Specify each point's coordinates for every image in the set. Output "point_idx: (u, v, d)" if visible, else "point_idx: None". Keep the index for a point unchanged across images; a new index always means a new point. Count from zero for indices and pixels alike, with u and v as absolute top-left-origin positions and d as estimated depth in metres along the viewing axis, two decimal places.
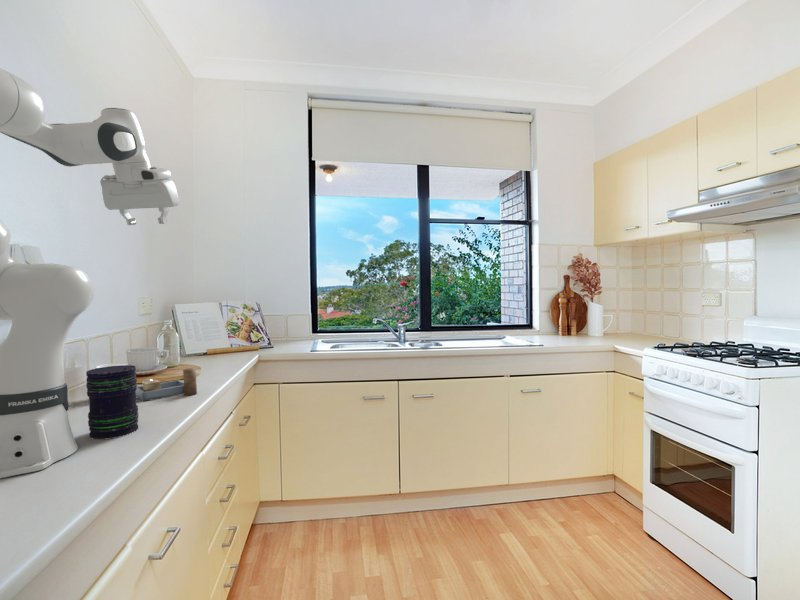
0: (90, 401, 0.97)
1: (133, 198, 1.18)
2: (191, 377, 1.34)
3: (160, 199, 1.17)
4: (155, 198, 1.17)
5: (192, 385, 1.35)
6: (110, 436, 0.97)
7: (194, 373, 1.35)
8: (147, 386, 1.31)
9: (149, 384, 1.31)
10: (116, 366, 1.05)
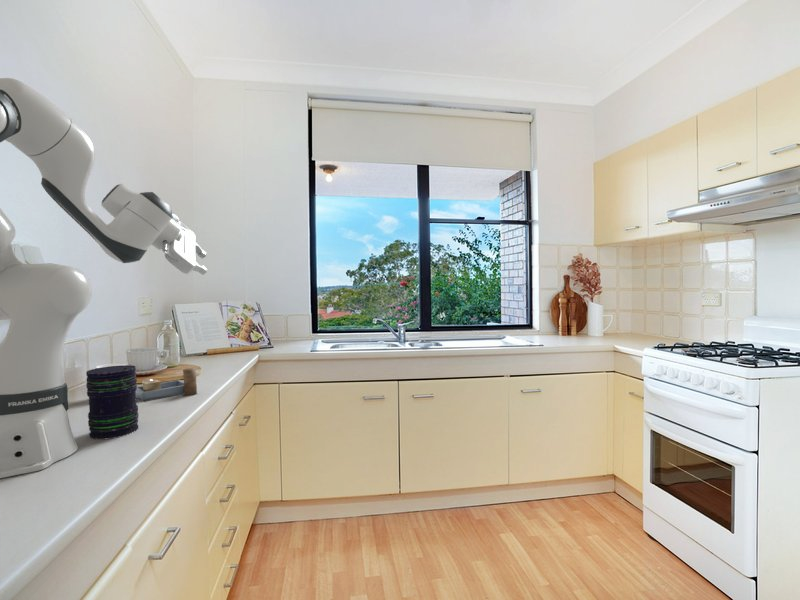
0: (90, 401, 0.97)
1: (188, 245, 1.22)
2: (191, 377, 1.34)
3: (190, 234, 1.28)
4: (189, 236, 1.27)
5: (192, 385, 1.35)
6: (110, 436, 0.97)
7: (194, 373, 1.35)
8: (147, 386, 1.31)
9: (149, 384, 1.31)
10: (116, 366, 1.05)
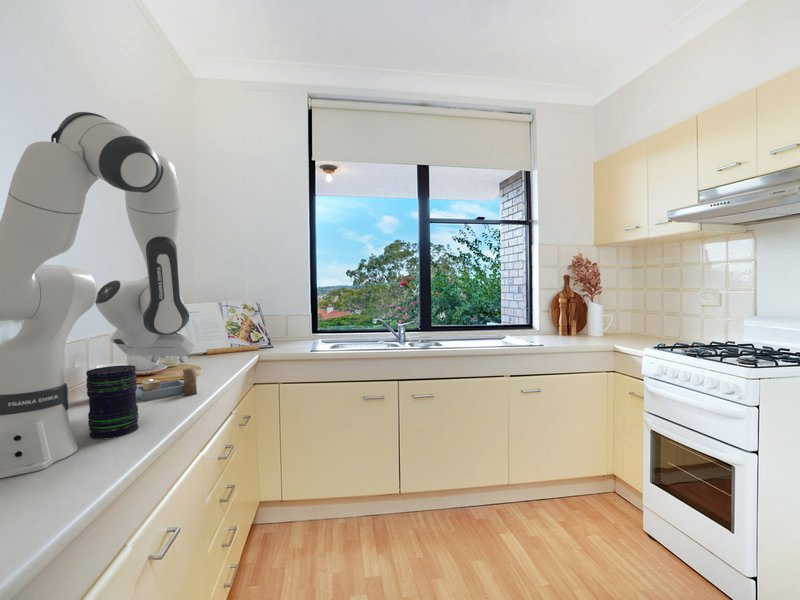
0: (90, 401, 0.97)
1: None
2: (191, 377, 1.34)
3: None
4: None
5: (192, 385, 1.35)
6: (110, 436, 0.97)
7: (194, 373, 1.35)
8: (147, 386, 1.31)
9: (149, 384, 1.31)
10: (116, 366, 1.05)
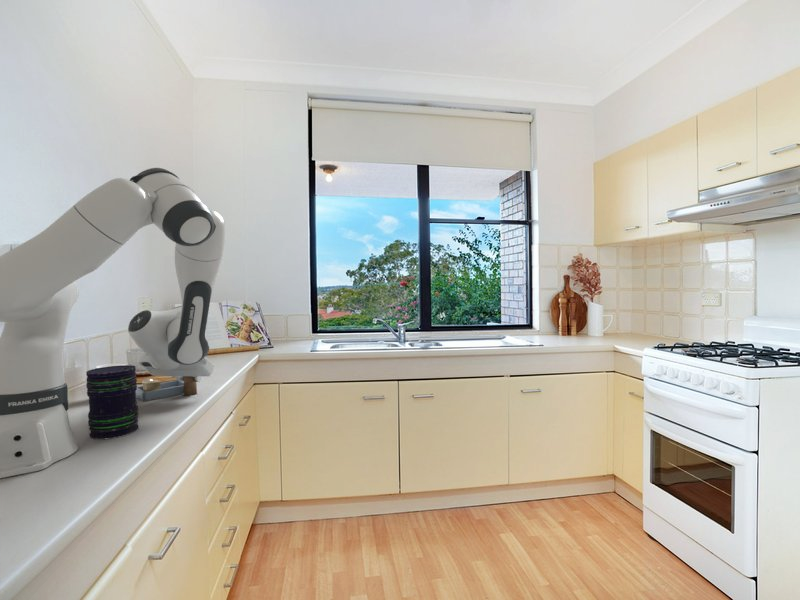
0: (90, 401, 0.97)
1: None
2: (191, 377, 1.34)
3: None
4: None
5: (192, 385, 1.35)
6: (110, 436, 0.97)
7: None
8: (147, 386, 1.31)
9: (149, 384, 1.31)
10: (116, 366, 1.05)
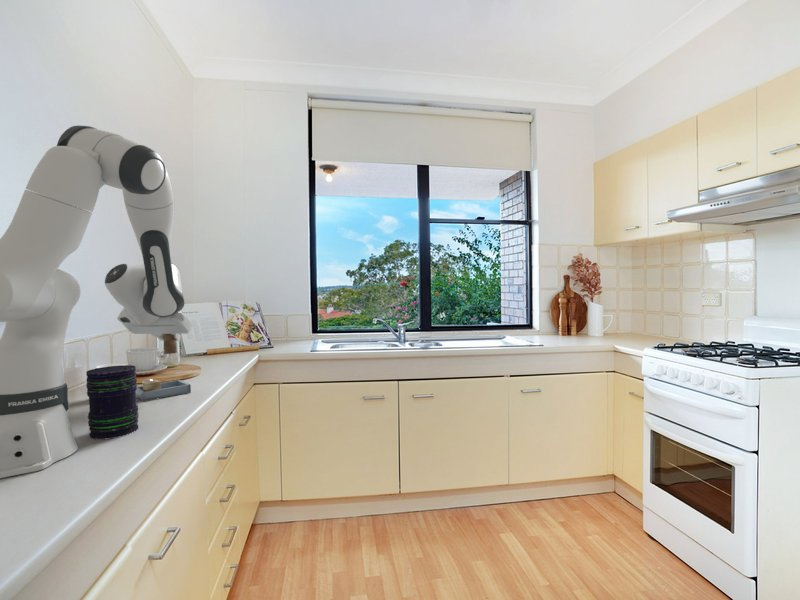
0: (90, 401, 0.97)
1: None
2: (170, 336, 1.36)
3: None
4: None
5: (171, 343, 1.37)
6: (110, 436, 0.97)
7: None
8: (147, 386, 1.31)
9: (149, 384, 1.31)
10: (116, 366, 1.05)
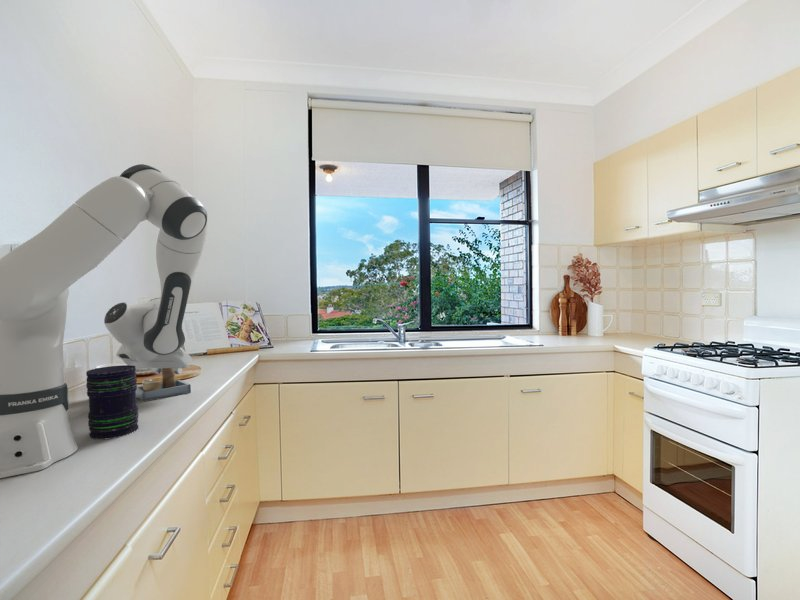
0: (90, 401, 0.97)
1: None
2: (169, 373, 1.37)
3: None
4: None
5: (170, 380, 1.37)
6: (110, 436, 0.97)
7: (173, 369, 1.38)
8: (147, 386, 1.31)
9: (149, 384, 1.31)
10: (116, 366, 1.05)
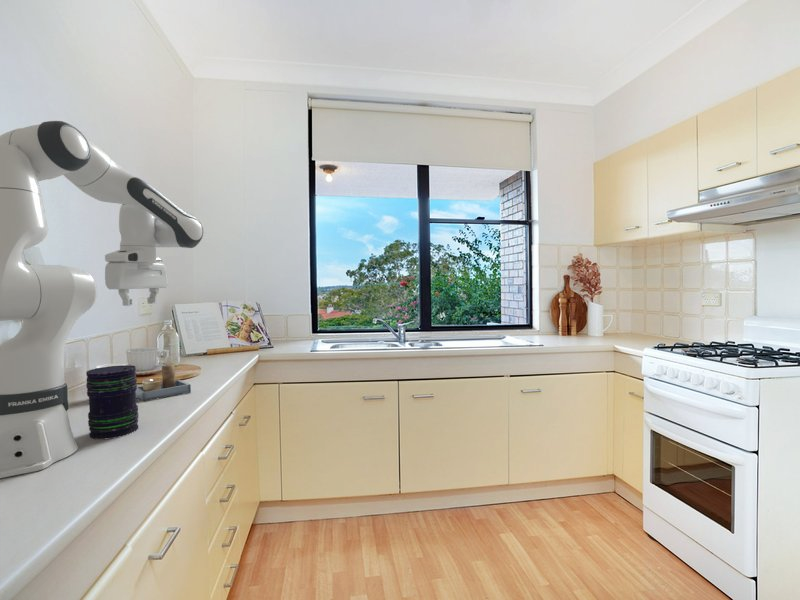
0: (90, 401, 0.97)
1: None
2: (169, 373, 1.37)
3: None
4: None
5: (170, 381, 1.37)
6: (110, 436, 0.97)
7: (173, 369, 1.38)
8: (147, 386, 1.31)
9: (149, 384, 1.31)
10: (116, 366, 1.05)
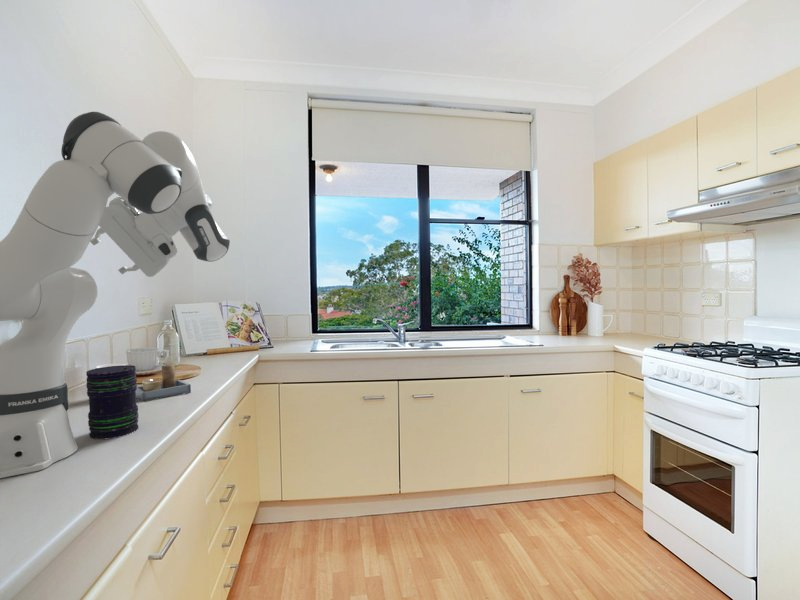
0: (90, 401, 0.97)
1: (127, 240, 1.11)
2: (169, 373, 1.37)
3: (147, 265, 1.14)
4: (144, 260, 1.13)
5: (170, 381, 1.37)
6: (110, 436, 0.97)
7: (173, 369, 1.38)
8: (147, 386, 1.31)
9: (149, 384, 1.31)
10: (116, 366, 1.05)
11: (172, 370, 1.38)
